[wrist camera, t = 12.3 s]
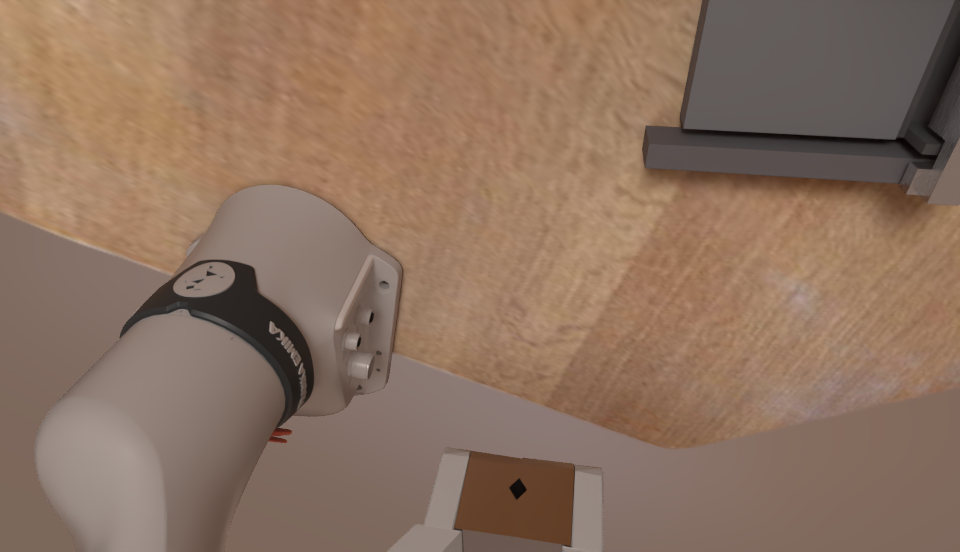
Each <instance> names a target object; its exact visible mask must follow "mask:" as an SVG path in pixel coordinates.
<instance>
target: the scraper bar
mask: <svg viewBox="0 0 960 552" xmlns="http://www.w3.org/2000/svg"><path fill="white" fill-rule="evenodd" d="M928 127H930V128H931V129H932V130H933V131H934V132H936V133H937V134H938V135H939V136H940V137H942V138H943V139H944V140H945V143H944V145H943V147H942V149H941V151H940V153H939V155H938V157H937V159H936V162H935V163H931V162H913V161H910V163H909V165H908V168H907V170H906V172H905V174H904V176H903V179H902V181H901V183H900V185H899V187H900V188H901V189H902V191H903V192H904V193H905V194H907V195H920V197H921V198H922V199H923V200H924V201H925V202H926V203H927V204H940V205H956V206H959V204H960V57H959V59H958V62H957V64H956V66H955V68H954V70H953V73H952V75H951V77H950V79H949V81H948V84H947V86H946V88H945V90H944V92H943V95H942V97H941V99H940V101H939V103H938V106H937V108H936V110H935V112H934V114H933V117H932V119H931V121H930V123H929V125H928Z"/></svg>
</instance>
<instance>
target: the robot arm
mask: <svg viewBox="0 0 960 552" xmlns="http://www.w3.org/2000/svg"><path fill="white" fill-rule="evenodd" d="M186 256H187V258H186V259H185V261H184V262H183V263H182V264H181V266H180V267H179V268H178V270H177V271H176V272H175V274H174V275H173V276H172V277H171V279H170V280H169V281H168V282H167V283H165V284H164V285H163V286H161V287H160V288H159V289H158V290H157V291H156V292H155V293H154V294H153V295H152V296H151V297H150V298H149V299H148V300H147V301H146V302H145V303H144V304H143V305H142V306H141V307H139V308H138V309H137V310H136V311H135V312H134V313H133V315H132V316H131V318H130V319H129V320H128V321H127V322H126V324H125V325H124V327H123V329H122V331H121V334H120V339H119V340H118V341H117V342H116V343H115V344H114V345H113V346H112V347H111V348H110V349H109V350H108V351H107V352H106V353H105V354H104V355H103V356H102V357H101V358H100V359H99V360H98V361H97V362H96V363H95V364H94V365H93V366H92V367H91V368H90V369H89V370H88V371H87V372H86V373H85V374H84V375H83V376H82V377H81V378H80V379H79V380H78V381H77V382H76V383H75V384H74V385H73V386H72V387H71V388H70V389H69V390H68V391H67V392H66V393H65V394H64V395H63V396H62V397H61V398H60V399H59V400H58V401H57V402H56V403H55V404H54V405H53V406H52V408H51V409H50V410H49V412H48V413H47V415H46V416H45V418H44V419H43V422H42V424H41V426H40V428H39V430H38V433H37V437H36V442H35V449H34V457H35V467H36V472H37V476H38V479H39V482H40V485H41V487H42V489H43V492H44V494H45V496H46V498H47V500H48V502H49V503H50V505H51V507H52V508H53V510H54V511H55V513H56V514H57V516H58V517H59V519H60V520H61V522H62V523H63V525H64V526H65V527H66V529H67V531H68V533H69V534H70V536H71V539H72V541H73V544H74V547H75V550H76V552H225V547H226V541H227V537H228V532H229V528H230V525H231V522H232V518H233V515H234V513H235V510H236V508H237V505H238V503H239V501H240V498H241V496H242V494H243V492H244V489H245V487H246V485H247V483H248V481H249V478H250V476H251V474H252V472H253V470H254V468H255V466H256V464H257V462H258V460H259V458H260V456H261V454H262V452H263V450H264V448H265V446H266V444H267V442H268V441H272V442H281V443H286V442H287V440H285V439H282V438H277V437H273V436H281V435H289V434H291V433H292V431H291V430H288V429H281V428H278V427H280V426H281V425H282V424H283V423H285V422H286V421H287V420H288V419H289V418H290V417H291V416H292V415H294V416H325V415H330V414H334V413H337V412H339V411H341V410H343V409H344V408H346V407H347V405H348V404H349V403H350V401H351V399H352V398H353V396H354V395H364V394H369V393H372V392H376V391H378V390H381V389H383V388H384V387H385V385H386V383H387V382H388V378H389V373H390V366H391V358H392V350H393V343H394V335H395V327H396V320H397V312H398V305H399V297H400V289H401V282H402V274H403V271H402V267H401V265H400V264H399V262H398V261H397V260H395V259H394V258H393V257H391V256H390V255H388V254H387V253H385V252H384V251H382V250H380V249H379V248H377V247H375V246H374V245H372V244H371V243H370V242H369V241H368V240H367V239H366V238H365V237H364V236H363V235H362V233H361V232H360V231H359V230H358V229H357V227H356V226H355V225H354V224H353V223H352V222H351V221H350V220H349V219H348V218H347V217H346V216H345V215H344V214H342V213H341V212H340V211H339V210H337V209H336V208H335V207H333V206H332V205H330V204H329V203H327V202H326V201H324V200H322V199H320V198H318V197H316V196H314V195H312V194H310V193H307V192H305V191H302V190H299V189H295V188H291V187H286V186H279V185H260V186H253V187H249V188H246V189H243V190H241V191H239V192H237V193H235V194H233V195H232V196H230V197H229V198H228V199H227V200H226V201H225V202H224V203H223V204H222V205H221V207H220V208H219V210H218V211H217V213H216V215H215V217H214V219H213V221H212V223H211V225H210V226H209V228H208V229H207V231H206V232H205V233H204V234H202V235H201V236H199V237H198V238H197V239H195V240H194V241H193V243H192V244H191V245H190V246H189V248H188V249H187V251H186ZM383 281H386V282H387V283H388V284H385V283H383ZM603 531H604V529H603V472H602V469H601V468H598V467H589V466H580V465H575V466H574V464H572V463H571V464H570V463H563V462H554V461H546V460H537V459H528V458H522V459H521V458H514V457H508V456H501V455H494V454H488V453H482V452H475V451H469V450H462V449H454V448H447V447H446V448H445V450H444V452H443V454H442V457H441V460H440V465H439V468H438V472H437V476H436V479H435V483H434V487H433V491H432V495H431V498H430V502H429V506H428V509H427V513H426V517H425V520H424V524H423V525H422V524H415V525H414V526H413V527H412V528H411V529H410V530H409V531H408V532H407V533H406V534H405V535H403V537H401V538H400V539H399V540H398V541H397V542H396V543H395V544H394V545H393V546H392V547H391V548H390V549H389V550H388V551H387V552H604V537H603V536H604V535H603V534H604V532H603Z"/></svg>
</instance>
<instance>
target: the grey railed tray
mask: <svg viewBox="0 0 960 552" xmlns="http://www.w3.org/2000/svg"><path fill="white" fill-rule="evenodd" d="M954 1H955V0H703V1H702V6H701V11H700V16H699V21H698V27H697V32H696V37H695V42H694V47H693V52H692V57H691V62H690V67H689V72H688V78H687V83H686V88H685V93H684V98H683V103H682V108H681V113H680V119H681V123H682V126H683V128H680V127H660V126H646V129H645V135H644V142H643V148H642V150H643V157H644V164H645V168H654V169H670V170H686V171H702V172H718V173H734V174H751V175H767V176H783V177H799V178H815V179H831V180H848V181H864V182H880V183H896V184H900V183H901V181H902V179H903V176H904V174H905V172H906V170H907V168H908V165H909V163H910V161H913V162H931V163H935V162H936V159H937V157H938V155H926V154H921V153H920V152H919V151H917V150H916V149H915V148H914V147H913V146H912V145H911V144H910V143H909V142H908V141H907V140H906V139H896V137H897V135H898V132H899V130H900V128H901V125H902V123H903V121H904V118H905V116H906V113H907V111H908V109H909V106H910V104H911V102H912V99H913V97H914V95H915V92H916V90H917V88H918V85H919V83H920V81H921V78H922V76H923V74H924V71H925V69H926V67H927V64H928V62H929V60H930V57H931V55H932V53H933V50H934V48H935V46H936V43H937V41H938V38H939V36H940V34H941V31H942V29H943V27H944V24H945V22H946V20H947V17H948V15H949V13H950V10H951V8H952V6H953V3H954Z"/></svg>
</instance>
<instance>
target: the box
mask: <svg viewBox="0 0 960 552" xmlns="http://www.w3.org/2000/svg"><path fill="white" fill-rule="evenodd" d="M959 57H960V0H955V1H954V3H953V6H952V8H951V10H950V13H949V15H948V17H947V20H946V22H945V24H944V27H943V29H942V31H941V34H940V36H939V38H938V41H937V43H936V46H935V48H934V50H933V53H932V55H931V57H930V60H929V62H928V64H927V67H926V69H925V71H924V74H923V76H922V78H921V81H920V83H919V85H918V88H917V90H916V92H915V95H914V97H913V99H912V102H911V104H910V106H909V109H908V111H907V113H906V116H905V118H904V121H903V123H902V125H901V128H900V130H899V132H898V135H897V137H901V138H905V139H906V140H907V141H908V142H909V143H910V144H911V145H912V146H913V147H914V148H915V149H916V150H917V151H919V152H920V153H921V154H926V155H939V153H940V151H941V149H942V147H943V145H944V143H945V140H944V139H943V138H942V137H940V136H939V135H938V134H937V133H936V132H934V131H933V130H932V129H931V128H930V127H928V125H929V123H930V121H931V119H932V117H933V114H934V112H935V110H936V108H937V106H938V103H939V101H940V99H941V97H942V95H943V92H944V90H945V88H946V86H947V84H948V81H949V79H950V77H951V75H952V73H953V70H954V68H955V66H956V64H957V62H958V59H959Z"/></svg>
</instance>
